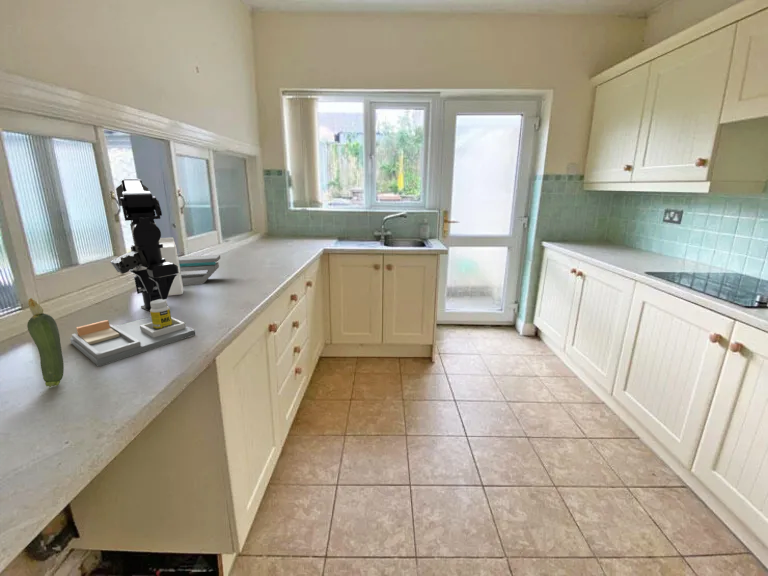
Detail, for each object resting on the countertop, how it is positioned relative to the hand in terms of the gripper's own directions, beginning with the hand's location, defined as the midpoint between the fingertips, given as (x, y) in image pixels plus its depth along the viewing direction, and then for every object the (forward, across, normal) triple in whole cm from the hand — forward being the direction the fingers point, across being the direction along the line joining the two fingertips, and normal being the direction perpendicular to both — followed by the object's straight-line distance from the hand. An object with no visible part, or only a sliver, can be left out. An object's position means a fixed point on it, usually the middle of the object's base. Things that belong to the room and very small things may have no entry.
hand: (157, 296), depth 101 cm
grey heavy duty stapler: (+11, -52, +33) cm, 62 cm away
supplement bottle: (+10, 0, 0) cm, 10 cm away
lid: (+10, -8, -13) cm, 18 cm away
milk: (+11, -40, +20) cm, 47 cm away
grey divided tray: (+11, -3, -6) cm, 14 cm away
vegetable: (+12, +11, -26) cm, 30 cm away
